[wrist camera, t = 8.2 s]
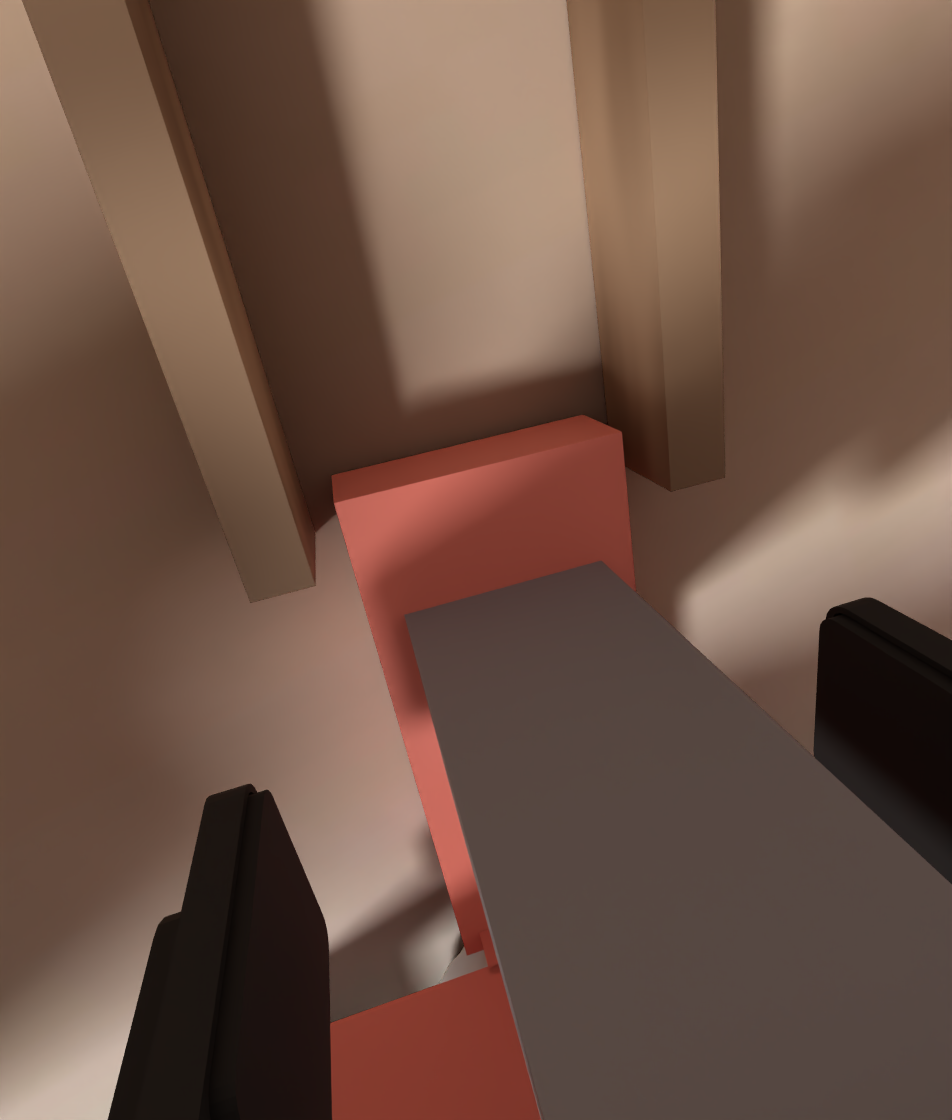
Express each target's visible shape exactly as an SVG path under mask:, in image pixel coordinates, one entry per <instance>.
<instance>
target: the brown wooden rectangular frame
mask: <svg viewBox="0 0 952 1120" xmlns="http://www.w3.org/2000/svg"><path fill="white" fill-rule="evenodd" d="M22 2H23V4H24V7H25V9H26V12H27V15H28V17H29V20H30V23H31V25H32V28H33V31H34V33H35V36H36V38H37V41H38V44H39V46H40V49H41V52H42V54H43V57H44V60H45V62H46V65H47V68H48V70H49V73H50V75H51V78H52V81H53V83H54V86H55V89H56V91H57V94H58V97H59V99H60V102H61V104H62V107H63V110H64V112H65V115H66V118H67V120H68V123H69V126H70V128H71V131H72V133H73V136H74V139H75V141H76V144H77V147H78V149H79V152H80V155H81V157H82V160H83V162H84V165H85V168H86V170H87V173H88V176H89V178H90V181H91V184H92V186H93V189H94V191H95V194H96V197H97V199H98V202H99V205H100V207H101V210H102V213H103V215H104V218H105V221H106V223H107V226H108V228H109V231H110V234H111V236H112V239H113V242H114V244H115V247H116V250H117V252H118V255H119V257H120V260H121V263H122V265H123V268H124V271H125V273H126V276H127V279H128V281H129V284H130V286H131V289H132V292H133V294H134V297H135V300H136V302H137V305H138V308H139V310H140V313H141V315H142V318H143V321H144V323H145V326H146V329H147V331H148V334H149V337H150V339H151V342H152V344H153V347H154V350H155V352H156V355H157V358H158V360H159V363H160V366H161V368H162V371H163V374H164V376H165V379H166V381H167V384H168V387H169V389H170V392H171V395H172V397H173V400H174V403H175V405H176V408H177V410H178V413H179V416H180V418H181V421H182V424H183V426H184V429H185V432H186V434H187V437H188V439H189V442H190V445H191V447H192V450H193V453H194V455H195V458H196V461H197V463H198V466H199V468H200V471H201V474H202V476H203V479H204V482H205V484H206V487H207V490H208V492H209V495H210V497H211V500H212V503H213V505H214V508H215V511H216V513H217V516H218V519H219V521H220V524H221V527H222V529H223V532H224V534H225V537H226V540H227V542H228V545H229V548H230V550H231V553H232V556H233V558H234V561H235V563H236V566H237V569H238V571H239V574H240V577H241V579H242V582H243V585H244V587H245V590H246V592H247V595H248V598H249V600H250V603H252V602H256V601H260V600H264V599H267V598H271V597H275V596H279V595H283V594H286V593H290V592H294V591H298V590H301V589H305V588H309V587H313V586H315V542H316V534H315V531H314V527H313V524H312V521H311V518H310V515H309V511H308V508H307V505H306V502H305V499H304V496H303V492H302V489H301V486H300V483H299V480H298V476H297V473H296V470H295V467H294V464H293V460H292V457H291V454H290V451H289V448H288V445H287V441H286V438H285V435H284V432H283V429H282V425H281V422H280V419H279V416H278V413H277V410H276V406H275V403H274V400H273V397H272V394H271V390H270V387H269V384H268V381H267V378H266V374H265V371H264V368H263V365H262V362H261V359H260V355H259V352H258V349H257V346H256V343H255V339H254V336H253V333H252V330H251V327H250V323H249V320H248V317H247V314H246V311H245V308H244V304H243V301H242V298H241V295H240V292H239V288H238V285H237V282H236V279H235V276H234V273H233V269H232V266H231V263H230V260H229V257H228V253H227V250H226V247H225V244H224V241H223V237H222V234H221V231H220V228H219V225H218V222H217V218H216V215H215V212H214V209H213V206H212V202H211V199H210V196H209V193H208V190H207V187H206V183H205V180H204V177H203V174H202V171H201V167H200V164H199V161H198V158H197V155H196V151H195V148H194V145H193V142H192V139H191V136H190V132H189V129H188V126H187V123H186V120H185V116H184V113H183V110H182V107H181V104H180V100H179V97H178V94H177V91H176V88H175V85H174V81H173V78H172V75H171V72H170V69H169V65H168V62H167V59H166V56H165V53H164V50H163V46H162V43H161V40H160V37H159V34H158V30H157V27H156V24H155V21H154V18H153V14H152V11H151V8H150V5H149V2H148V0H22ZM567 11H568V21H569V31H570V41H571V52H572V62H573V72H574V82H575V93H576V103H577V113H578V123H579V134H580V144H581V154H582V164H583V175H584V185H585V195H586V205H587V216H588V226H589V236H590V246H591V257H592V267H593V277H594V288H595V298H596V308H597V318H598V329H599V339H600V349H601V359H602V370H603V380H604V390H605V400H606V411H607V421H608V426H610V427H612V428H614V429H617V430H619V431H621V432H622V439H623V450H624V462H625V467H627V468H629V469H631V470H633V471H634V472H636V473H638V474H640V475H642V476H643V477H645V478H647V479H649V480H651V481H653V482H654V483H656V484H658V485H660V486H662V487H663V488H665V489H667V490H669V491H671V492H672V491H675V490H679V489H683V488H687V487H691V486H694V485H698V484H702V483H706V482H709V481H713V480H717V479H721V478H725V445H724V396H723V347H722V298H721V250H720V201H719V152H718V103H717V54H716V6H715V0H567Z"/></svg>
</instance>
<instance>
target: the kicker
mask: <svg viewBox="0 0 952 1120" xmlns="http://www.w3.org/2000/svg"><path fill="white" fill-rule="evenodd" d="M331 477H332V488H333V499H334V505H335V509H336V512H337V516H338V519H339V522H340V526H341V529H342V533H343V536H344V539H345V543H346V546H347V550H348V553H349V556H350V560H351V563H352V567H353V570H354V573H355V577H356V580H357V584H358V587H359V590H360V594H361V597H362V601H363V604H364V607H365V611H366V614H367V617H368V621H369V624H370V628H371V631H372V634H373V638H374V641H375V645H376V648H377V651H378V655H379V658H380V662H381V665H382V668H383V672H384V675H385V679H386V682H387V685H388V689H389V692H390V696H391V699H392V702H393V706H394V709H395V713H396V716H397V719H398V723H399V726H400V730H401V733H402V736H403V740H404V743H405V747H406V750H407V753H408V757H409V760H410V764H411V767H412V770H413V774H414V777H415V781H416V784H417V787H418V791H419V794H420V798H421V801H422V804H423V808H424V811H425V815H426V818H427V821H428V825H429V828H430V832H431V835H432V838H433V842H434V845H435V848H436V852H437V855H438V859H439V862H440V865H441V869H442V872H443V876H444V879H445V882H446V886H447V889H448V893H449V896H450V899H451V903H452V906H453V910H454V913H455V916H456V920H457V923H458V927H459V930H460V933H461V937H462V940H463V944H464V947H465V950H466V954H467V956H468V955H470V954H473V953H476V952H479V951H482V950H484V953H485V957H486V961H487V965H488V967H485V968H482V969H479V970H477V971H474V972H471V973H468V974H466V975H463V976H460V977H457V978H454V979H452V980H449V981H446V982H443V983H440V984H438V985H435V986H432V987H429V988H427V989H424V990H421V991H418V992H415V993H413V994H410V995H407V996H404V997H401V998H399V999H396V1000H393V1001H390V1002H388V1003H385V1004H382V1005H379V1006H376V1007H374V1008H371V1009H368V1010H365V1011H362V1012H360V1013H357V1014H354V1015H351V1016H349V1017H346V1018H343V1019H340V1020H337V1021H335V1022H332V1023H330V1038H331V1088H332V1120H952V884H951V883H950V882H949V881H948V880H946V879H945V878H944V877H943V876H942V875H941V874H940V873H939V872H938V871H937V870H936V869H935V868H933V867H932V866H931V865H930V864H929V863H928V862H927V861H926V860H925V859H924V858H923V857H922V856H921V855H919V854H918V853H917V852H916V851H915V850H914V849H913V848H912V847H911V846H910V845H909V844H908V843H906V842H905V841H904V840H903V839H902V838H901V837H900V836H899V835H898V834H897V833H896V832H895V831H893V830H892V829H891V828H890V827H889V826H888V825H887V824H886V823H885V822H884V821H883V820H882V819H880V818H879V817H878V816H877V815H876V814H875V813H874V812H873V811H872V810H871V809H870V808H869V807H867V806H866V805H865V804H864V803H863V802H862V801H861V800H860V799H859V798H858V797H857V796H856V795H855V794H853V793H852V792H851V791H850V790H849V789H848V788H847V787H846V786H845V785H844V784H843V783H842V782H840V781H839V780H838V779H837V778H836V777H835V776H834V775H833V774H832V773H831V772H830V771H829V770H827V769H826V768H825V767H824V766H823V765H822V764H821V763H820V762H819V761H818V760H817V759H816V758H814V757H813V756H812V755H811V754H810V753H809V752H808V751H807V750H806V749H805V748H804V747H803V746H802V745H800V744H799V743H798V742H797V741H796V740H795V739H794V738H793V737H792V736H791V735H790V734H789V733H787V732H786V731H785V730H784V729H783V728H782V727H781V726H780V725H779V724H778V723H777V722H776V721H774V720H773V719H772V718H771V717H770V716H769V715H768V714H767V713H766V712H765V711H764V710H763V709H761V708H760V707H759V706H758V705H757V704H756V703H755V702H754V701H753V700H752V699H751V698H750V697H748V696H747V695H746V694H745V693H744V692H743V691H742V690H741V689H740V688H739V687H738V686H737V685H736V684H734V683H733V682H732V681H731V680H730V679H729V678H728V677H727V676H726V675H725V674H724V673H723V672H721V671H720V670H719V669H718V668H717V667H716V666H715V665H714V664H713V663H712V662H711V661H710V660H708V659H707V658H706V657H705V656H704V655H703V654H702V653H701V652H700V651H699V650H698V649H697V648H695V647H694V646H693V645H692V644H691V643H690V642H689V641H688V640H687V639H686V638H685V637H684V636H683V635H681V634H680V633H679V632H678V631H677V630H676V629H675V628H674V627H673V626H672V625H671V624H670V623H668V622H667V621H666V620H665V619H664V618H663V617H662V616H661V615H660V614H659V613H658V612H657V611H655V610H654V609H653V608H652V607H651V606H650V605H649V604H648V603H647V602H646V601H645V600H644V599H642V598H641V597H640V596H639V595H638V594H637V593H636V586H635V574H634V563H633V552H632V541H631V529H630V518H629V507H628V495H627V484H626V473H625V462H624V450H623V439H622V432H621V431H619V430H617V429H614V428H612V427H610V426H608V425H605V424H603V423H601V422H599V421H596V420H594V419H592V418H590V417H587V416H585V415H579V416H575V417H571V418H566V419H562V420H558V421H554V422H550V423H546V424H542V425H538V426H533V427H529V428H525V429H521V430H517V431H513V432H509V433H505V434H500V435H496V436H492V437H488V438H484V439H480V440H476V441H471V442H467V443H463V444H459V445H455V446H451V447H447V448H443V449H438V450H434V451H430V452H426V453H422V454H418V455H414V456H409V457H405V458H401V459H397V460H393V461H389V462H385V463H381V464H376V465H372V466H368V467H364V468H360V469H356V470H352V471H347V472H343V473H339V474H335V475H331Z"/></svg>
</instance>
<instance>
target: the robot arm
mask: <svg viewBox="0 0 952 1120" xmlns="http://www.w3.org/2000/svg"><path fill="white" fill-rule="evenodd" d="M814 756H815V758H816V759H817V760H818V761H819V762H820V763H821V764H822V765H823V766H824V767H825V768H826V769H827V770H829V771H830V772H831V773H832V774H833V775H834V776H835V777H836V778H837V779H838V780H839V781H840V782H842V783H843V784H844V785H845V786H846V787H847V788H848V789H849V790H850V791H851V792H852V793H853V794H855V795H856V796H857V797H858V798H859V799H860V800H861V801H862V802H863V803H864V804H865V805H866V806H867V807H869V808H870V809H871V810H872V811H873V812H874V813H875V814H876V815H877V816H878V817H879V818H880V819H882V820H883V821H884V822H885V823H886V824H887V825H888V826H889V827H890V828H891V829H892V830H893V831H895V832H896V833H897V834H898V835H899V836H900V837H901V838H902V839H903V840H904V841H905V842H906V843H908V844H909V845H910V846H911V847H912V848H913V849H914V850H915V851H916V852H917V853H918V854H919V855H921V856H922V857H923V858H924V859H925V860H926V861H927V862H928V863H929V864H930V865H931V866H932V867H933V868H935V869H936V870H937V871H938V872H939V873H940V874H941V875H942V876H943V877H944V878H945V879H946V880H948V881H949V882H950V883H951V884H952V640H950V639H948V638H946V637H945V636H943V635H941V634H939V633H937V632H935V631H933V630H932V629H930V628H928V627H926V626H924V625H922V624H920V623H919V622H917V621H915V620H913V619H911V618H909V617H908V616H906V615H904V614H902V613H900V612H898V611H896V610H895V609H893V608H891V607H889V606H887V605H885V604H884V603H882V602H880V601H878V600H876V599H873V598H862V599H858V600H855V601H852V602H848V603H845V604H842V605H839V606H835V607H833V608H831V609H830V610H829V611H828V613H827V615H826V620H824V621H822V623H821V625H820V631H819V652H818V672H817V692H816V712H815V732H814ZM108 1120H332V1088H331V1038H330V989H329V944H328V934H327V928H326V924H325V920H324V917H323V914H322V912H321V909H320V907H319V905H318V902H317V900H316V897H315V895H314V893H313V890H312V888H311V886H310V883H309V881H308V879H307V876H306V874H305V872H304V869H303V867H302V864H301V862H300V860H299V857H298V855H297V853H296V850H295V848H294V846H293V843H292V841H291V839H290V836H289V834H288V831H287V829H286V827H285V824H284V822H283V820H282V817H281V815H280V813H279V810H278V808H277V806H276V803H275V801H274V798H273V796H272V794H271V792H270V791H269V790H264V791H261V792H258V793H257V791H256V789H255V787H254V786H253V785H252V784H247V785H244V786H240V787H237V788H234V789H230V790H227V791H224V792H221V793H217V794H214V795H211V796H209V797H208V798H207V799H206V802H205V805H204V810H203V814H202V819H201V823H200V828H199V832H198V837H197V842H196V846H195V851H194V855H193V860H192V864H191V869H190V874H189V878H188V883H187V887H186V892H185V897H184V901H183V906H182V910H181V912H178V913H175V914H172V915H169V916H167V917H164V918H163V920H162V921H161V922H160V923H159V925H158V927H157V930H156V933H155V936H154V938H153V942H152V946H151V950H150V954H149V958H148V962H147V966H146V970H145V974H144V978H143V982H142V986H141V990H140V994H139V998H138V1002H137V1006H136V1010H135V1014H134V1018H133V1022H132V1026H131V1030H130V1034H129V1038H128V1041H127V1045H126V1049H125V1053H124V1057H123V1061H122V1065H121V1069H120V1073H119V1077H118V1081H117V1085H116V1089H115V1093H114V1097H113V1101H112V1105H111V1109H110V1113H109V1117H108Z"/></svg>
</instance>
